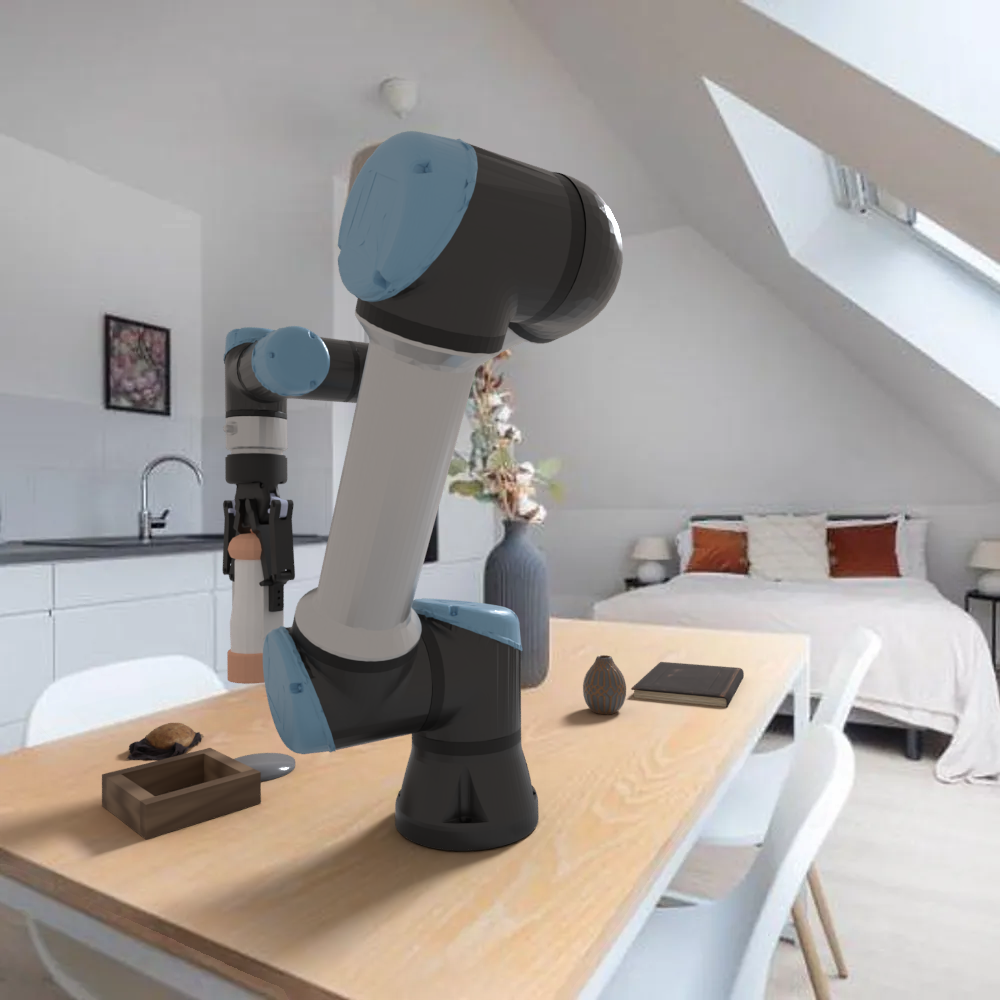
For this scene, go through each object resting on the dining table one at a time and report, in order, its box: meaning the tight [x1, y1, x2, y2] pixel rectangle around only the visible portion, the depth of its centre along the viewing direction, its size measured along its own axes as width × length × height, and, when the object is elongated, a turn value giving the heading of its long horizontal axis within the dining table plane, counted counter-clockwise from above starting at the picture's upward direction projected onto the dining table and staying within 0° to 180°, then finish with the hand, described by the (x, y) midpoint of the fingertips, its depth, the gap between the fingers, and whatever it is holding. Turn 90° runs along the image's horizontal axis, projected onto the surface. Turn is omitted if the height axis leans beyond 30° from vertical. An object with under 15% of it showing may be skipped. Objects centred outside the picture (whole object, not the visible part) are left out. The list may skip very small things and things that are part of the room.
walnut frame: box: [101, 747, 262, 840], centre depth 84 cm, size 12×12×4 cm
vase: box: [582, 654, 627, 715], centre depth 121 cm, size 7×7×9 cm
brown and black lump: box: [125, 722, 205, 761], centre depth 104 cm, size 11×8×4 cm
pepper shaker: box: [226, 530, 265, 685], centre depth 96 cm, size 7×7×19 cm
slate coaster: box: [234, 752, 296, 782], centre depth 95 cm, size 9×9×1 cm
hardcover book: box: [630, 661, 745, 708], centre depth 136 cm, size 16×23×2 cm
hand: (257, 633), depth 96 cm, fingers closed on pepper shaker, 7 cm apart
